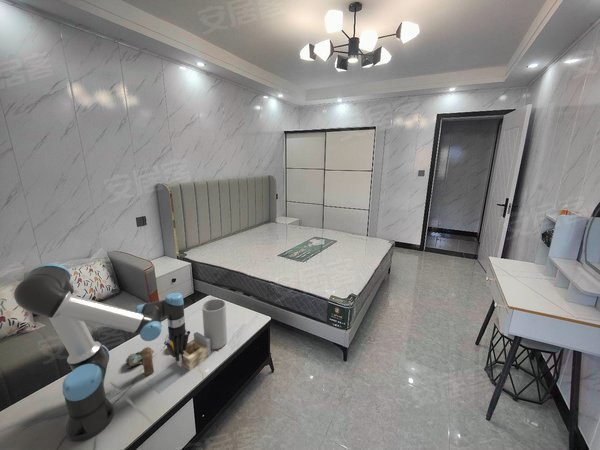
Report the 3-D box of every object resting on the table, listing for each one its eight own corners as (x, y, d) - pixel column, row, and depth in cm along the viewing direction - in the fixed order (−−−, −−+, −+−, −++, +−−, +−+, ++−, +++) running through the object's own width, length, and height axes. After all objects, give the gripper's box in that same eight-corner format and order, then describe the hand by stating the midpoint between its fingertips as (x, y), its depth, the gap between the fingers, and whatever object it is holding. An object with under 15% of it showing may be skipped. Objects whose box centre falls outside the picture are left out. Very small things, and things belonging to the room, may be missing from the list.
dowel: (147, 378, 127) (144, 354, 124) (143, 375, 129) (139, 351, 126) (155, 373, 131) (152, 349, 127) (151, 369, 133) (148, 346, 129)
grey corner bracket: (159, 395, 119) (156, 375, 116) (146, 384, 124) (143, 364, 122) (211, 356, 143) (209, 339, 140) (198, 348, 148) (196, 331, 145)
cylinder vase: (200, 347, 149) (197, 309, 143) (212, 334, 161) (210, 297, 154) (220, 352, 146) (218, 312, 140) (230, 337, 158) (229, 301, 152)
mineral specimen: (127, 372, 130) (132, 357, 129) (123, 360, 136) (127, 346, 135) (153, 367, 139) (158, 353, 138) (148, 356, 145) (152, 343, 144)
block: (189, 370, 132) (189, 359, 130) (176, 361, 137) (175, 350, 136) (207, 357, 141) (207, 347, 139) (194, 349, 146) (194, 339, 145)
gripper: (168, 333, 120) (172, 376, 125) (192, 320, 130) (195, 360, 135) (159, 327, 124) (163, 369, 129) (183, 315, 134) (186, 354, 139)
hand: (179, 365), depth 132 cm, fingers closed
